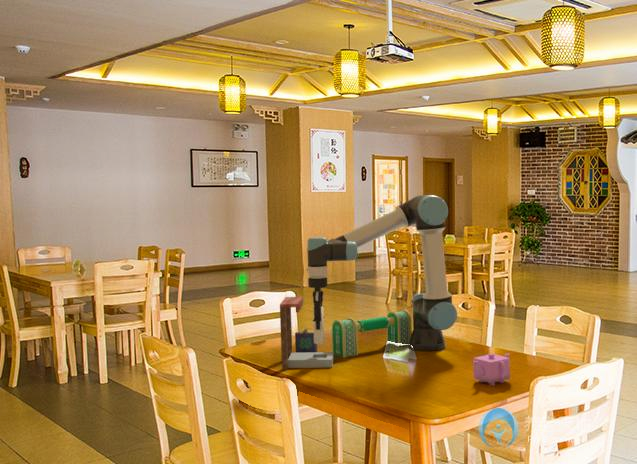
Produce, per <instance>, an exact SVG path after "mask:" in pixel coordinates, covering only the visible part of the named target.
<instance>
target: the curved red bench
mask: <svg viewBox="0 0 637 464" xmlns="http://www.w3.org/2000/svg"><path fill="white" fill-rule="evenodd" d="M303 305H304V296H285V297H284V298H283V300H282V301H281V302H280V304H279V316H280V317H279V318H280V321H279V322H280V346H281V347H280V349H281V371H287V370H288V369H289V368H288V359H289V357H290V355H291V353H293V333H292V331H293V330H292V327H293V326H292V308H295V313H299V312H300V311H301V309H302V307H303Z"/></svg>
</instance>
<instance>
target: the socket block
mask: <svg viewBox="0 0 637 464" xmlns="http://www.w3.org/2000/svg"><path fill="white" fill-rule="evenodd" d="M334 356H335V354H334V352H333V351H329V352H328V351H326V352H323V351H320V352H319V351H318V352H307V353H296V352H292V353H291V355H290V357H289V359H288V369H289V368H290V369H293V368H294V369H296V368H299V369H301V368H302V369H303V368H309V369H311V368H333V365H334V360H335V357H334Z"/></svg>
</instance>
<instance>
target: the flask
mask: <svg viewBox="0 0 637 464" xmlns="http://www.w3.org/2000/svg"><path fill="white" fill-rule="evenodd" d="M308 330H309V329H308V328H307V327H304V330H299V331H296V332H295V333H294V339H295V342H294V343H295V347H294V348H295V353H307V352H319V351H318V344H315V343H314V331H308Z"/></svg>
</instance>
